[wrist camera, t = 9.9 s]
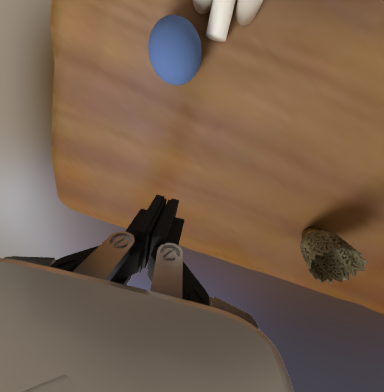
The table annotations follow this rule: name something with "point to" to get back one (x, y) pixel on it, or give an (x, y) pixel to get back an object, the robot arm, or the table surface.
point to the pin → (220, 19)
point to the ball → (175, 49)
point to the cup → (329, 255)
